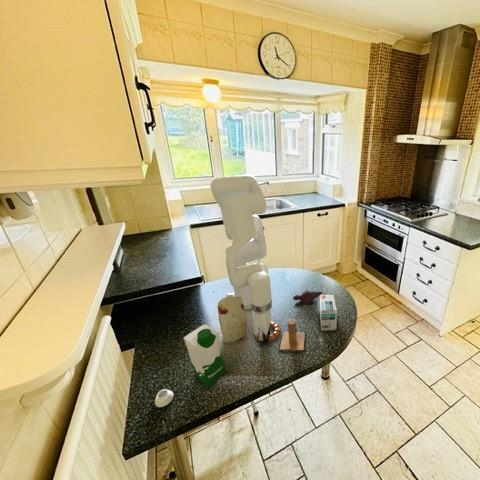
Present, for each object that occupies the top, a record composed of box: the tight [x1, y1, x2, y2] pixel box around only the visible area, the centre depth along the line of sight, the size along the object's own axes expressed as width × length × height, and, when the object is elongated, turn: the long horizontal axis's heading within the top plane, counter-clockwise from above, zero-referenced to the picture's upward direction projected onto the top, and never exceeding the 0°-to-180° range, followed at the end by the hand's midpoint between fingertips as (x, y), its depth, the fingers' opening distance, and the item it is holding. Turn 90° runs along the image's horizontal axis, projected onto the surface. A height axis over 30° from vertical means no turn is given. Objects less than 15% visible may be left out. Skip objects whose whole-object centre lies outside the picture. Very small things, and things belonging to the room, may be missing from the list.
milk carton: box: [183, 323, 226, 388], centre depth 84 cm, size 9×9×20 cm
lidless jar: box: [154, 388, 174, 408], centre depth 79 cm, size 5×3×5 cm
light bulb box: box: [319, 294, 338, 332], centre depth 110 cm, size 11×7×11 cm, turn 4°
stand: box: [279, 318, 306, 351], centre depth 99 cm, size 9×9×11 cm
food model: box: [216, 296, 248, 343], centre depth 99 cm, size 10×7×20 cm
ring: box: [253, 321, 281, 342], centre depth 105 cm, size 10×10×2 cm
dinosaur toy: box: [292, 289, 324, 307], centre depth 122 cm, size 7×7×15 cm
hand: (265, 340), depth 102 cm, fingers closed on ring, 2 cm apart
